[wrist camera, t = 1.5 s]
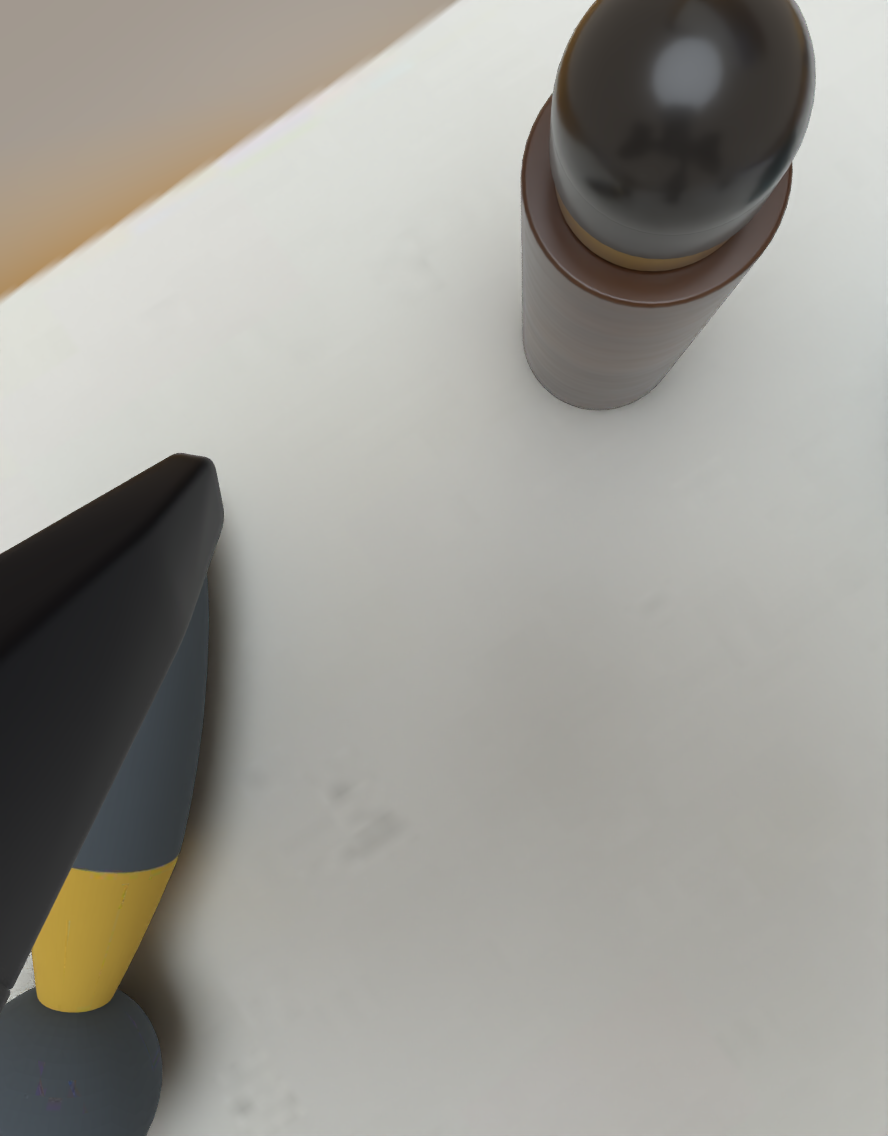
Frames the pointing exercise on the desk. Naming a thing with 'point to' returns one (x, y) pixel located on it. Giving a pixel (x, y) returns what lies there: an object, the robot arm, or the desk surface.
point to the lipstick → (655, 183)
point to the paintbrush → (108, 934)
